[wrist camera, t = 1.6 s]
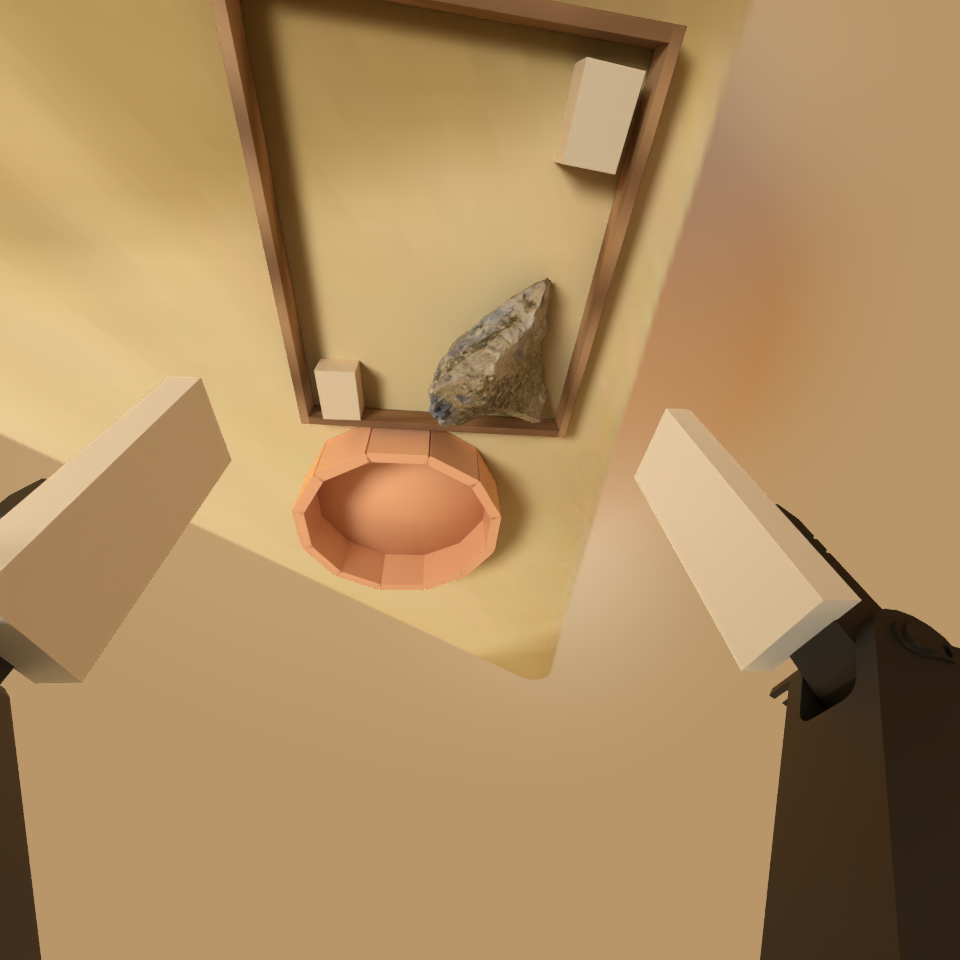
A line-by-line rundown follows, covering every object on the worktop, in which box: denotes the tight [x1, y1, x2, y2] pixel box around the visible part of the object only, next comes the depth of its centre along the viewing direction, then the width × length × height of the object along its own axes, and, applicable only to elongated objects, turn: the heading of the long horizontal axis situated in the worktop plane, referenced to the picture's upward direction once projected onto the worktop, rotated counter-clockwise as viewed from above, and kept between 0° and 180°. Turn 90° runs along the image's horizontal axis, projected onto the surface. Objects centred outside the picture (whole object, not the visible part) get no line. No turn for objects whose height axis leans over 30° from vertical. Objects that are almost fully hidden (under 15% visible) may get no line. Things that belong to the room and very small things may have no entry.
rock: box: [428, 278, 551, 427], centre depth 27 cm, size 11×6×10 cm
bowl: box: [292, 427, 501, 590], centre depth 38 cm, size 18×18×4 cm
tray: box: [211, 0, 687, 437], centre depth 25 cm, size 23×21×2 cm
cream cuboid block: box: [314, 359, 364, 420], centre depth 30 cm, size 4×3×2 cm
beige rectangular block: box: [554, 57, 646, 174], centre depth 21 cm, size 4×3×2 cm
